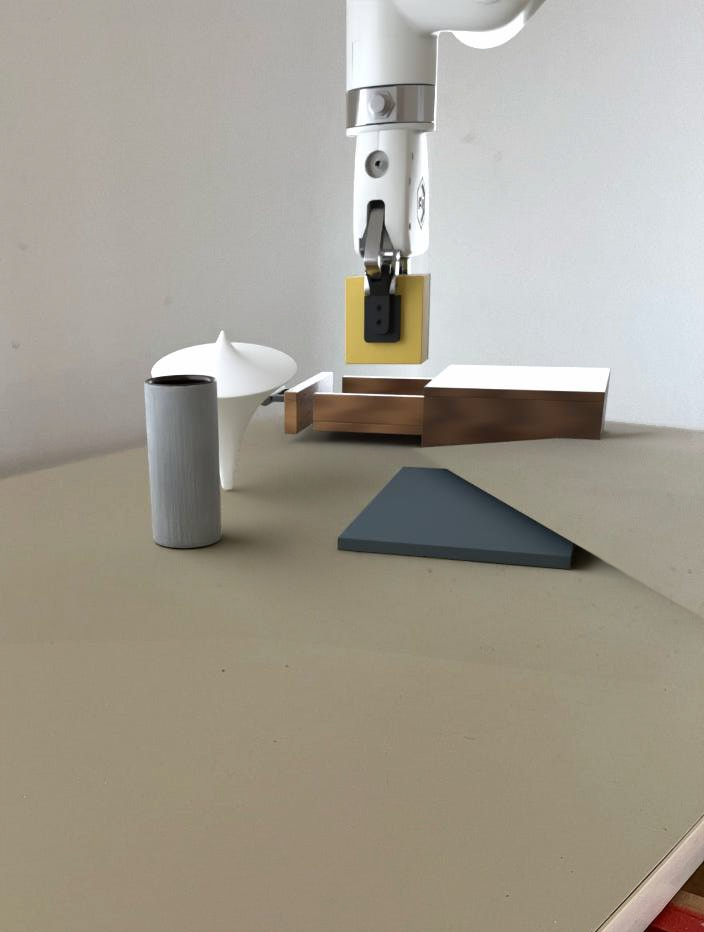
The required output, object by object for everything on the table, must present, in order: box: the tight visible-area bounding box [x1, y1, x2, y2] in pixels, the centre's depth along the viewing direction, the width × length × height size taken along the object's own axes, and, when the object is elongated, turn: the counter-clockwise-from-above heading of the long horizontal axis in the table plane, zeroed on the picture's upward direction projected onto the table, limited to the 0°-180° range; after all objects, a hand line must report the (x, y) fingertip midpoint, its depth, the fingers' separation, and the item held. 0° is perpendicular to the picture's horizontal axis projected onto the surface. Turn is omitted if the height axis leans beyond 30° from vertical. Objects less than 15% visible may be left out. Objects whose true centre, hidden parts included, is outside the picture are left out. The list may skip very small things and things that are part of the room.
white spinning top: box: [151, 330, 298, 491], centre depth 77 cm, size 10×11×12 cm
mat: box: [336, 465, 576, 570], centre depth 71 cm, size 20×14×1 cm
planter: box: [143, 374, 222, 549], centre depth 66 cm, size 4×4×10 cm
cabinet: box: [420, 364, 612, 449], centre depth 92 cm, size 15×14×6 cm
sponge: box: [344, 272, 432, 365], centre depth 93 cm, size 7×4×8 cm, turn 69°
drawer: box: [260, 371, 435, 436], centre depth 97 cm, size 17×12×4 cm
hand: (387, 337), depth 94 cm, fingers closed on sponge, 3 cm apart
